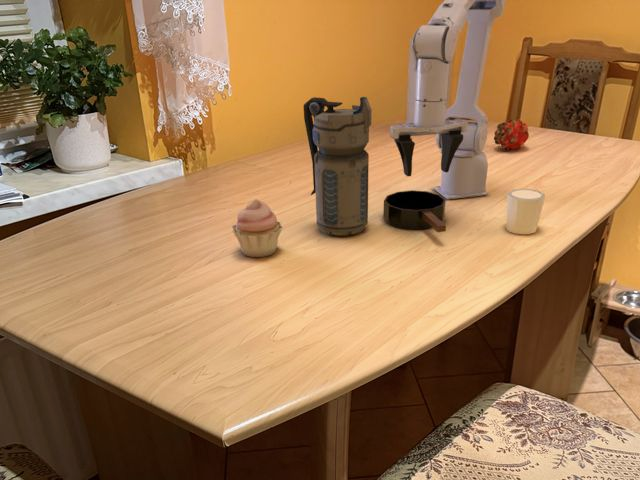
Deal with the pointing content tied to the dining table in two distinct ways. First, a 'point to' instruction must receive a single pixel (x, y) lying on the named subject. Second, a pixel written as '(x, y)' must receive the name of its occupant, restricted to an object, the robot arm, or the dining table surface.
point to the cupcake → (257, 230)
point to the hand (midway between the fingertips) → (426, 172)
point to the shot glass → (523, 210)
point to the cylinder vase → (413, 84)
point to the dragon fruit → (511, 134)
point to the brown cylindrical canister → (339, 164)
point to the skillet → (415, 210)
